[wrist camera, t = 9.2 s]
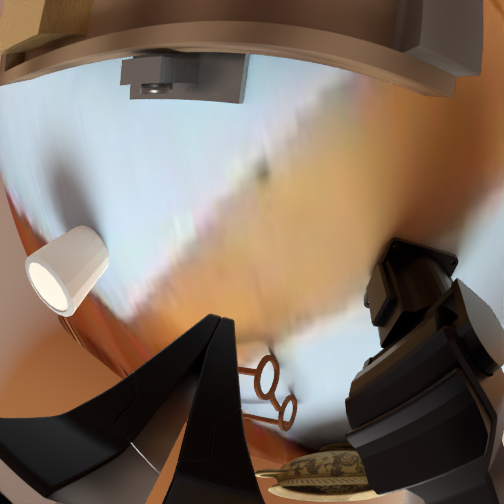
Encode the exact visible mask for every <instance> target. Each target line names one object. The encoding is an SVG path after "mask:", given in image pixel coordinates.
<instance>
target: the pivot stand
mask: <svg viewBox="0 0 504 504" xmlns="http://www.w3.org/2000/svg"><path fill="white" fill-rule="evenodd" d="M249 56H250V54H245V53H229V52H176V53H160V54H148V55H139V56H133V59H128V60H122V69H121V81H120V85H130V84H131V86H130V99H183V100H202V101H216V102H227V103H237V104H242V103H243V99H244V91H245V84H246V77H247V70H248V63H249Z"/></svg>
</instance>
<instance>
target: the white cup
mask: <svg viewBox="0 0 504 504" xmlns="http://www.w3.org/2000/svg"><path fill="white" fill-rule="evenodd" d="M108 265H109V253H108V250H107V247H106V245H105V243H104V242H103V240H102V239H101V237H100V236H99V235H98V234H97V233H96V232H95V231H94V230H93V229H91V228H89V227H87V226H77V227H75V228H73V229H71V230H70V231H68V232H66V233H65V234H63V235H61V236H60V237H58V238H56V239H55V240H53V241H52V242H50V243H48V244H47V245H45V246H44V247H42V248H41V249H39V250H37V251H36V252H34V253H33V254H31V255H30V256H29V257H28V258H27V259H26V265H25V268H26V272H27V276H28V279H29V281H30V283H31V285H32V286H33V289H34V290H35V291H36V293H37V294H38V296H39V297H40V298H41V300H42V301H43V302H44V303H45V304H46V305H47V306H48V307H49V308H51V309H52V310H53V311H55V312H56V313H58V314H59V315H62V316H65V317H68V316H71V315H73V313H74V312H75V310H76V309H77V307H78V306H79V305H80V303H81V302H82V300H83V299H84V298H85V296H86V295H87V294H88V292H89V291H90V290H91V288H92V287H93V286H94V284H95V283H96V282H97V280H98V279H99V278H100V276H101V275H102V274H103V273H104V271H105V270H106V269H107V267H108Z"/></svg>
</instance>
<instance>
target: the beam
mask: <svg viewBox="0 0 504 504" xmlns="http://www.w3.org/2000/svg"><path fill="white" fill-rule="evenodd" d="M482 49H483V0H94V2H93V6H92V10H91V15H90V20H89V25H88V30H87V35H84V36H80V37H76V38H73V39H69V40H66V41H63V42H59V43H56V44H53V45H50V46H47V47H45V48H42V49H39V50H36V51H28V52H19V53H12V54H5V55H1V60H0V86H3V85H7V84H11V83H16V82H21V81H26V80H31V79H34V78H37V77H40V76H43V75H46V74H50V73H53V72H57V71H60V70H64V69H68V68H72V67H76V66H80V65H84V64H89V63H94V62H99V61H104V60H110V59H116V58H123V57H130V56H139V55H148V54H160V53H176V52H229V53H245V54H257V55H267V56H276V57H283V58H290V59H296V60H302V61H308V62H313V63H318V64H323V65H328V66H332V67H337V68H341V69H345V70H349V71H353V72H356V73H360V74H364V75H367V76H370V77H374V78H377V79H380V80H383V81H386V82H389V83H392V84H395V85H398V86H401V87H403V88H406V89H409V90H411V91H414V92H416V93H419V94H421V95H424V96H438V97H452V98H453V96H454V90H455V84H456V77H459V76H480V72H481V62H482Z"/></svg>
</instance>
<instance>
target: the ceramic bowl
mask: <svg viewBox="0 0 504 504" xmlns="http://www.w3.org/2000/svg"><path fill="white" fill-rule="evenodd" d="M255 476H258V477H265V478H275V479H277V481H278V484H276V485H273V486H272V487H270V488H269V489H268V491H270V492H271V493H273V494H275V495H278V496H282V497H286V498H291V499H298V500H306V501H307V500H308V501H355V500H365V499H370V498H375V497H379V495H377V494H376V493H375V492H374V490H373V489H372V488H371V487H370V486H369V484H368V481H367V477H366V473H365V469H364V466H363V463H362V460H361V458H360V456H359V455H358V453H357V451H356V449H355V448H354V447H353V446H352V445H351V444H350V443H341V444H331V445H327V446H324V447H322V448H320V453H314V454H310V455H306V456H302V457H299V458H296V459H294V460H292V461H290V462H288V463H286V464H285V465H283V466H282V467H281V468H280V469H263V470H259V471H257V472H256V473H255ZM381 496H383V495H381Z"/></svg>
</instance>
